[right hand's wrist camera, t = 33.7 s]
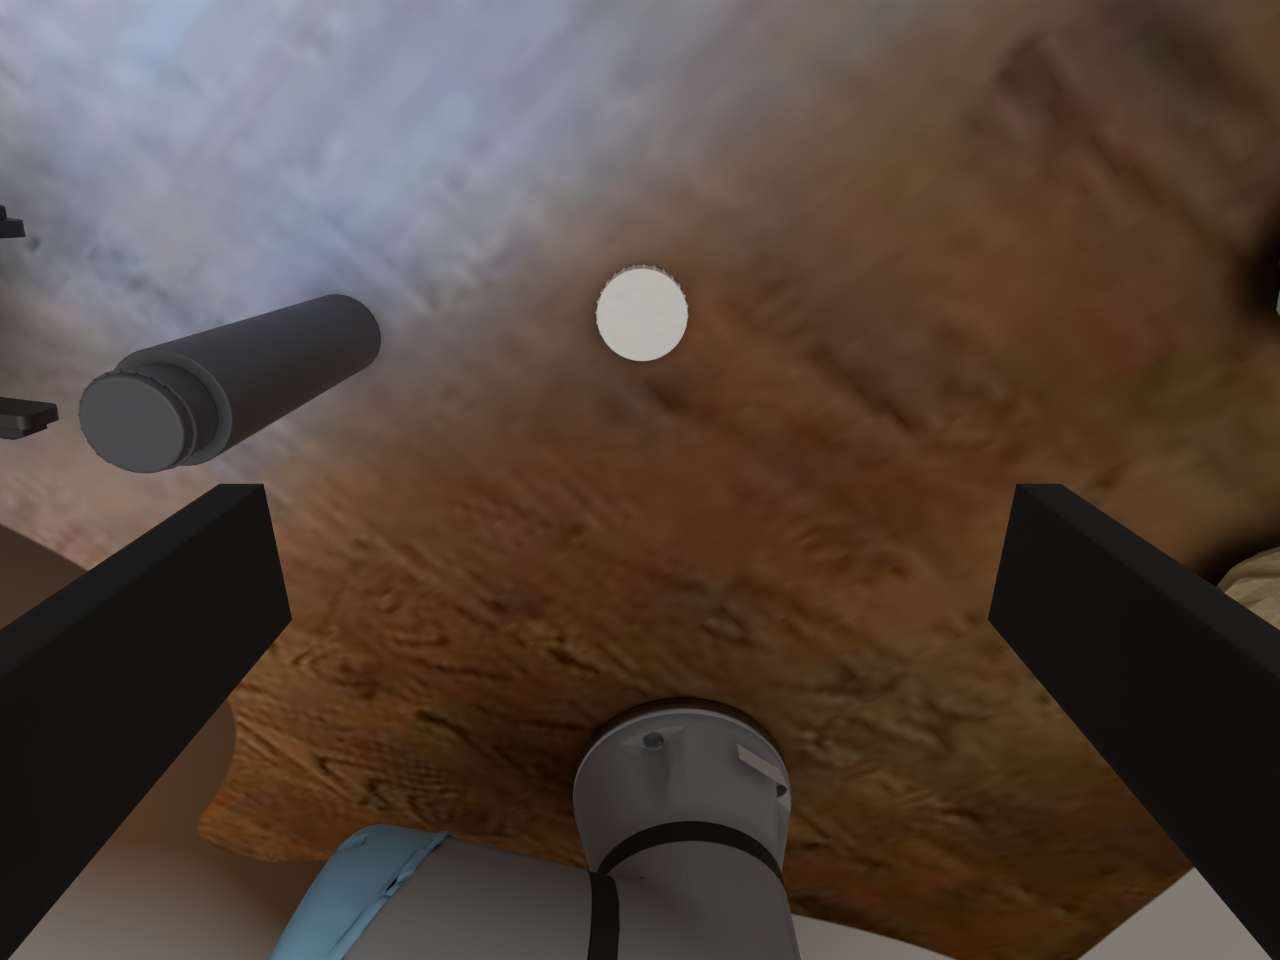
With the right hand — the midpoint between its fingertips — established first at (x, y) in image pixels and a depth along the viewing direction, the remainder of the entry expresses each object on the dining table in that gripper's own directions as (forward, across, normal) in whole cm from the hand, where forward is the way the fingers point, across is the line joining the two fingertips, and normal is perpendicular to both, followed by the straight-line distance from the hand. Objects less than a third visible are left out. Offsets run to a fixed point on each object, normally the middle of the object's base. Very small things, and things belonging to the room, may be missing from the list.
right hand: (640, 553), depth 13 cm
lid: (+26, 0, 0) cm, 26 cm away
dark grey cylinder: (+28, +16, +1) cm, 33 cm away
